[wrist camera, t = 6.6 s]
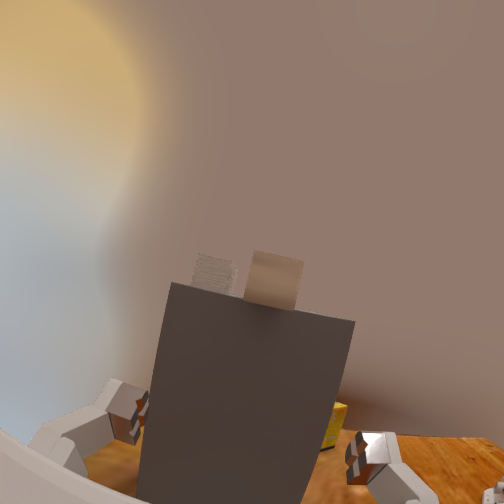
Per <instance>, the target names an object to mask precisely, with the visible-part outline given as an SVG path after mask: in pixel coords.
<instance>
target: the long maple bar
mask: <svg viewBox="0 0 504 504" xmlns="http://www.w3.org/2000/svg"><path fill="white" fill-rule="evenodd" d="M303 264H304V261H302V260H297V259H293V258H288V257H284V256H279V255H275V254H270V253H265V252H260V251H256V250H254V252H253V257H252V262H251V266H250V271H249V275H248V280H247V284H246V289H245V293H244V297H243V301H247V302H252V303H256V304H261V305H265V306H270V307H275V308H280V309H284V310H289V311H294V308H295V303H296V298H297V294H298V289H299V284H300V279H301V274H302V270H303Z"/></svg>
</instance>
